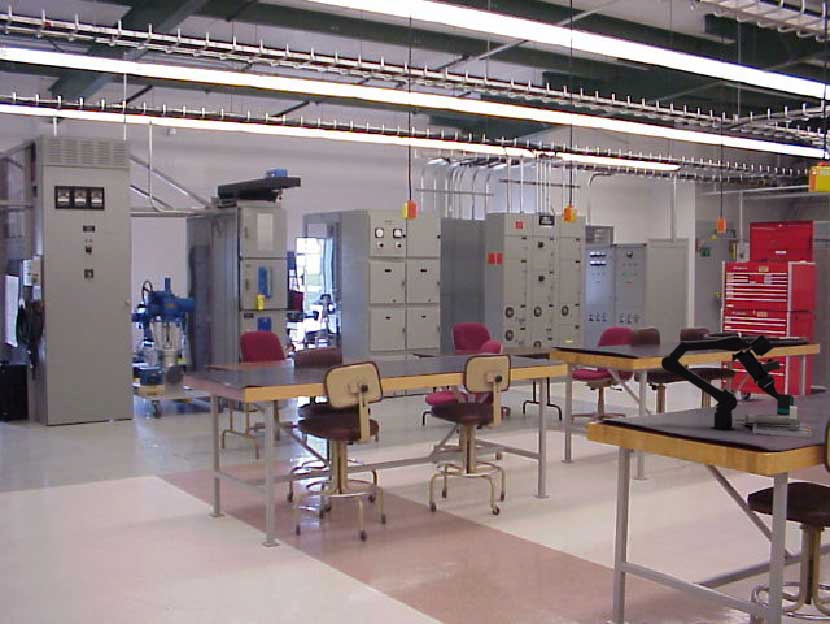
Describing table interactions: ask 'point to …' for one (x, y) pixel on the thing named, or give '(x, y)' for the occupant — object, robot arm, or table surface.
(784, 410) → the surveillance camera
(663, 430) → the table surface
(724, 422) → the robot arm
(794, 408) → the cap
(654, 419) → the table surface
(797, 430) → the fader console
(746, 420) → the geiger counter
